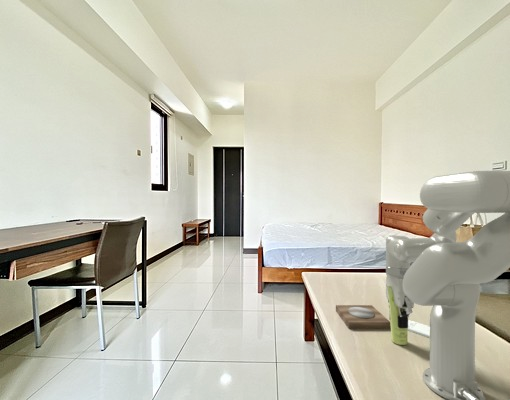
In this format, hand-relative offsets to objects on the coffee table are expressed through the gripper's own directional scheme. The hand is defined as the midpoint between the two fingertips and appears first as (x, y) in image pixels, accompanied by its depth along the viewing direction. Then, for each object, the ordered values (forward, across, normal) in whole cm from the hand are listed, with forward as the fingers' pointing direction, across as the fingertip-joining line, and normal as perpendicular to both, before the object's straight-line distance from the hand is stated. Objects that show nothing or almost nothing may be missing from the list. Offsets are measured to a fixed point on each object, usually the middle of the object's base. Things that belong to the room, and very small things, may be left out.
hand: (398, 323), depth 90 cm
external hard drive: (+7, +8, -13) cm, 17 cm away
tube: (+7, 0, 0) cm, 7 cm away
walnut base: (+6, +17, +6) cm, 19 cm away
